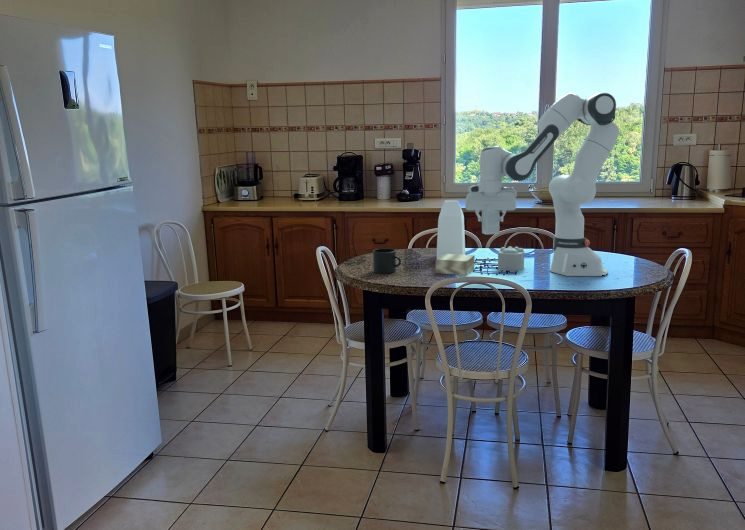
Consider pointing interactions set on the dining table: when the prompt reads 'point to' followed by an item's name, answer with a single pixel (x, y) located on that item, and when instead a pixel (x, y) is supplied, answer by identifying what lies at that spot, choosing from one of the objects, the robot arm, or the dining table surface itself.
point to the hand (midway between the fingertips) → (490, 221)
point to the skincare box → (490, 220)
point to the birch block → (455, 264)
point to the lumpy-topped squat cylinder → (511, 258)
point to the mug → (385, 261)
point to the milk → (451, 230)
